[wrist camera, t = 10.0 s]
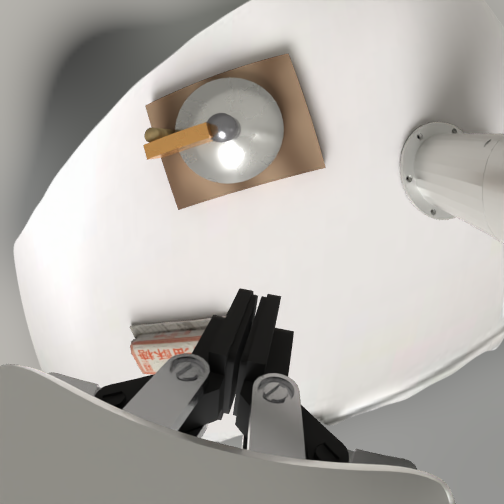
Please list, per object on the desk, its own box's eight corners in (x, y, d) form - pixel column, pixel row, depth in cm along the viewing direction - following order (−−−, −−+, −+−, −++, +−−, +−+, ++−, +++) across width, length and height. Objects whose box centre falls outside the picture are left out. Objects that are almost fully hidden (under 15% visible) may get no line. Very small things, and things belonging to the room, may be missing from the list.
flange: (267, 68, 27) (263, 53, 22) (295, 168, 31) (296, 171, 26) (154, 105, 30) (132, 100, 25) (179, 198, 34) (161, 207, 29)
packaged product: (144, 384, 44) (118, 339, 41) (154, 367, 48) (132, 323, 45) (243, 384, 40) (224, 331, 37) (248, 363, 44) (231, 312, 41)
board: (288, 58, 28) (287, 37, 22) (323, 166, 32) (331, 170, 26) (152, 107, 32) (124, 101, 26) (184, 206, 36) (161, 219, 30)
